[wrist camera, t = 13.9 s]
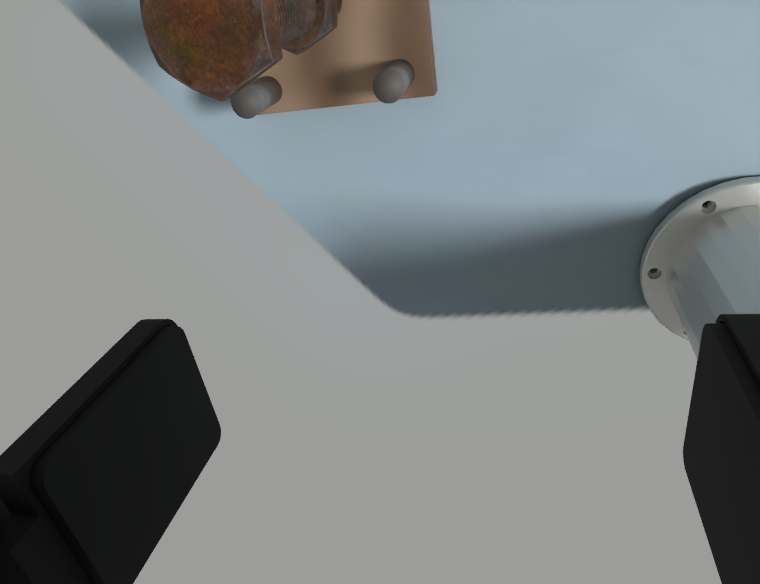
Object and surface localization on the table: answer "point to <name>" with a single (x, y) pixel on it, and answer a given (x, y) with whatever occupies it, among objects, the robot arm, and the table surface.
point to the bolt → (231, 38)
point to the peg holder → (352, 62)
